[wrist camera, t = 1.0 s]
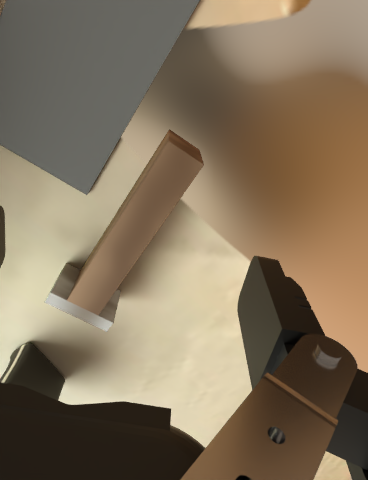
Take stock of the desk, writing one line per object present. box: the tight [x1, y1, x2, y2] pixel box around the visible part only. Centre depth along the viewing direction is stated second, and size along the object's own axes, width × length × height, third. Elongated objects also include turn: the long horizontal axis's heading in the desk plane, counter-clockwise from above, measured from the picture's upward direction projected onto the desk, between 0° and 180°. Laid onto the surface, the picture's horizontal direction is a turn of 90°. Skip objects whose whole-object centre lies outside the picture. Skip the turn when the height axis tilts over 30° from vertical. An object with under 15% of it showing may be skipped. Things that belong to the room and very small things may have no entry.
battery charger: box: [0, 343, 65, 400], centre depth 35 cm, size 7×4×11 cm, turn 27°
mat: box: [0, 0, 200, 195], centre depth 25 cm, size 11×25×1 cm, turn 146°
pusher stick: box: [45, 130, 204, 332], centre depth 30 cm, size 6×17×5 cm, turn 146°
